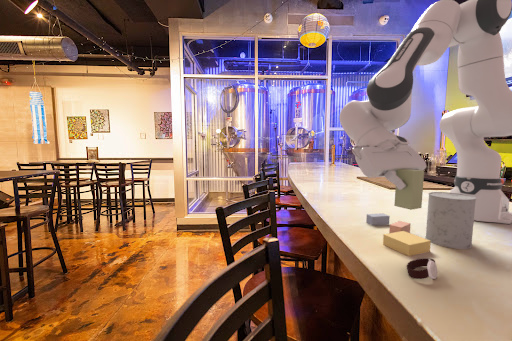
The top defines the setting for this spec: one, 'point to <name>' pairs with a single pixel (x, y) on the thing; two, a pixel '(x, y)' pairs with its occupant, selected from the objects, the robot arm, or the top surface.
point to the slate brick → (377, 219)
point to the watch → (421, 274)
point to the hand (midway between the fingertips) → (411, 187)
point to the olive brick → (410, 189)
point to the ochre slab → (406, 243)
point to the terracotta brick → (400, 227)
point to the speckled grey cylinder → (450, 219)
